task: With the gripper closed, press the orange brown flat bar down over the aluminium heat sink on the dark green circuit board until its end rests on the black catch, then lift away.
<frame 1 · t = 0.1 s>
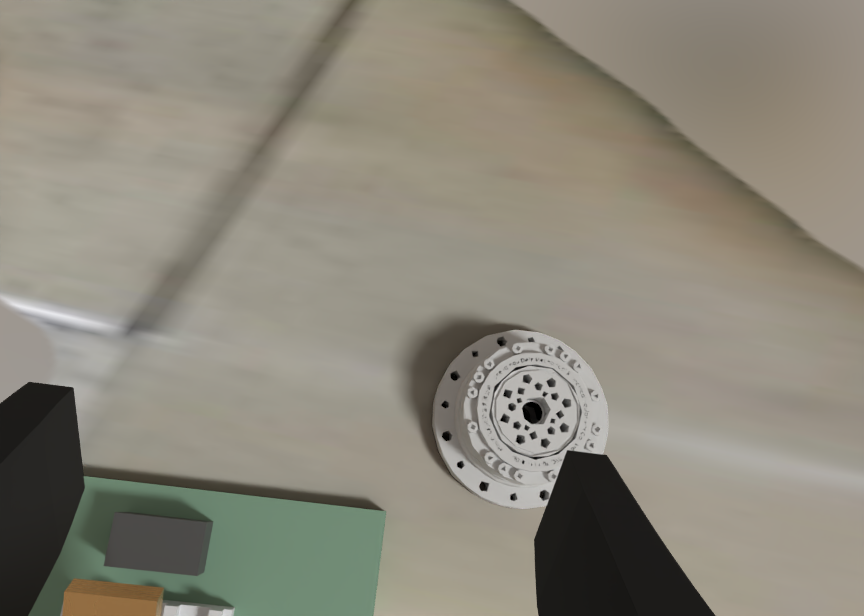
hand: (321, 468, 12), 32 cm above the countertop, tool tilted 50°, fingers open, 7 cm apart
mechanical component: (516, 419, 45), on the countertop
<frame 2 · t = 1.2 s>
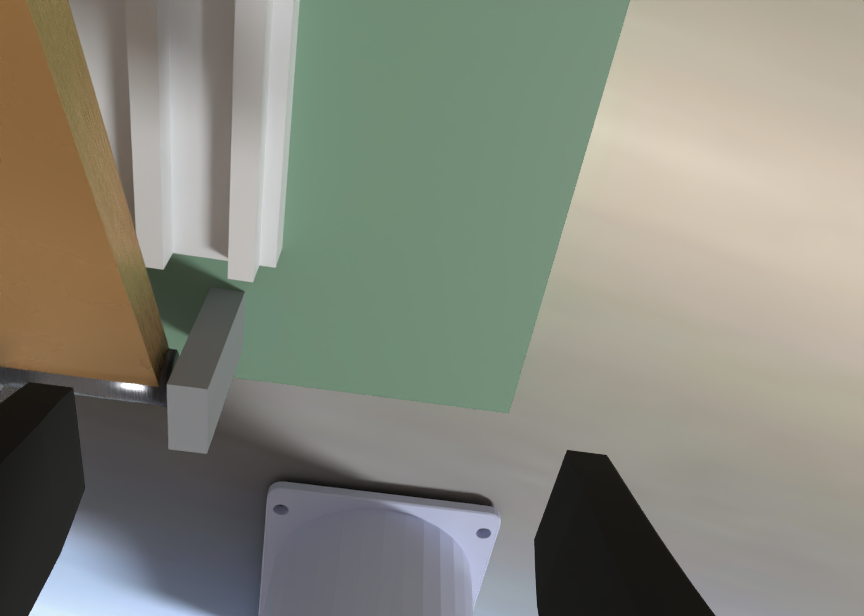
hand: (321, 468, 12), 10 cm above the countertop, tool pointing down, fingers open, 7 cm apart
orange brown flat bar: (14, 209, 14), point 6 cm above the countertop, hinge at 25.0°
board: (131, 32, 18), on the countertop
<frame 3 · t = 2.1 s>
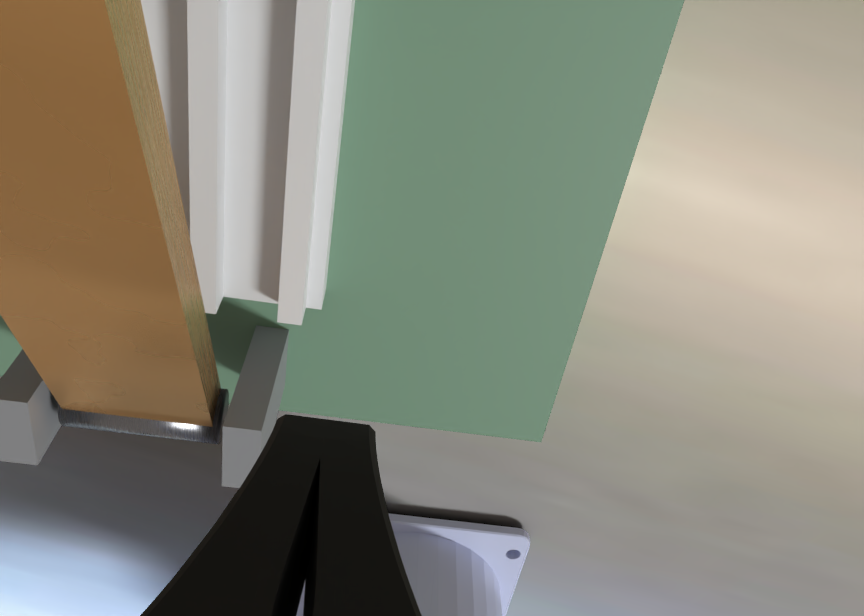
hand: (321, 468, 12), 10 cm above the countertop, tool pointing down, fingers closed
orange brown flat bar: (90, 273, 14), point 6 cm above the countertop, hinge at 25.0°
board: (183, 86, 19), on the countertop
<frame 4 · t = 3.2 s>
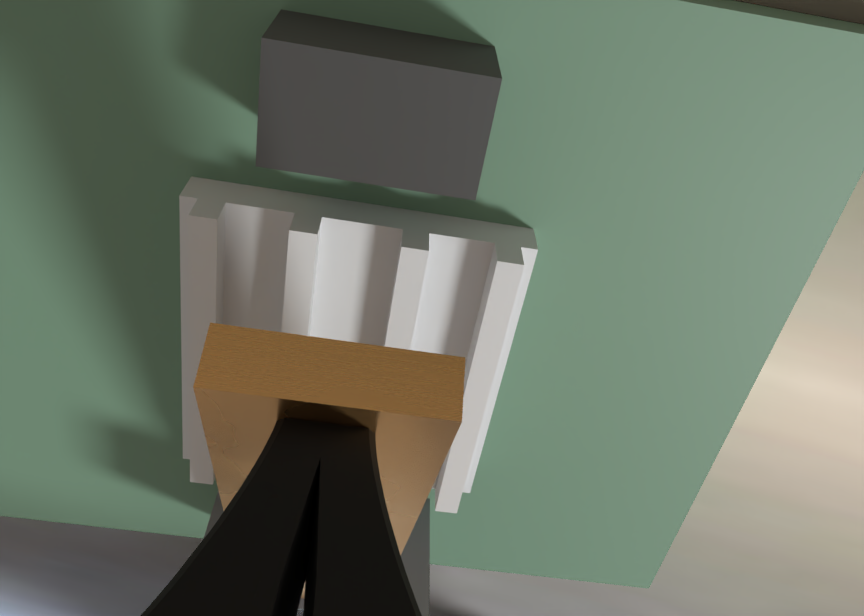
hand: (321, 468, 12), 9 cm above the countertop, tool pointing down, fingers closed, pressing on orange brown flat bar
orange brown flat bar: (319, 519, 16), point 6 cm above the countertop, hinge at 24.0°, touching gripper
board: (353, 299, 21), on the countertop
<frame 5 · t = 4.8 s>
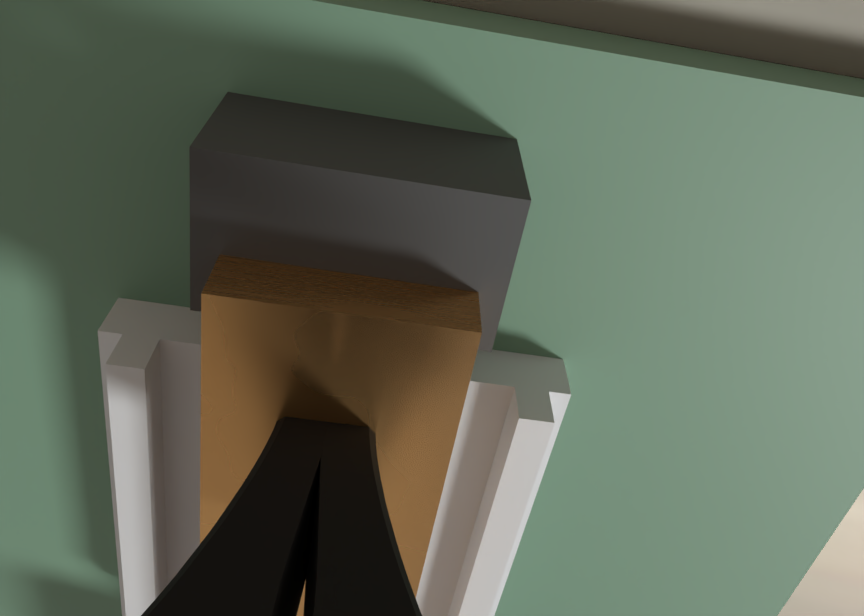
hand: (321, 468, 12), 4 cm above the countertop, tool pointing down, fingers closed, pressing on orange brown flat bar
orange brown flat bar: (306, 607, 14), point 4 cm above the countertop, hinge at -0.2°, touching board, gripper
board: (334, 427, 17), on the countertop
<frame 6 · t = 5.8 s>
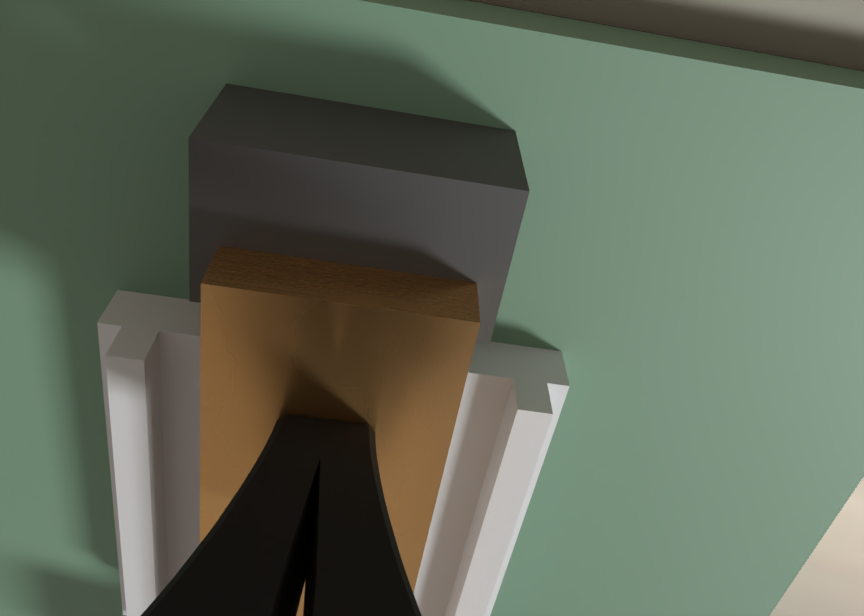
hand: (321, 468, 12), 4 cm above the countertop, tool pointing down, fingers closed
orange brown flat bar: (306, 598, 14), point 4 cm above the countertop, hinge at -0.3°, touching board
board: (333, 420, 17), on the countertop
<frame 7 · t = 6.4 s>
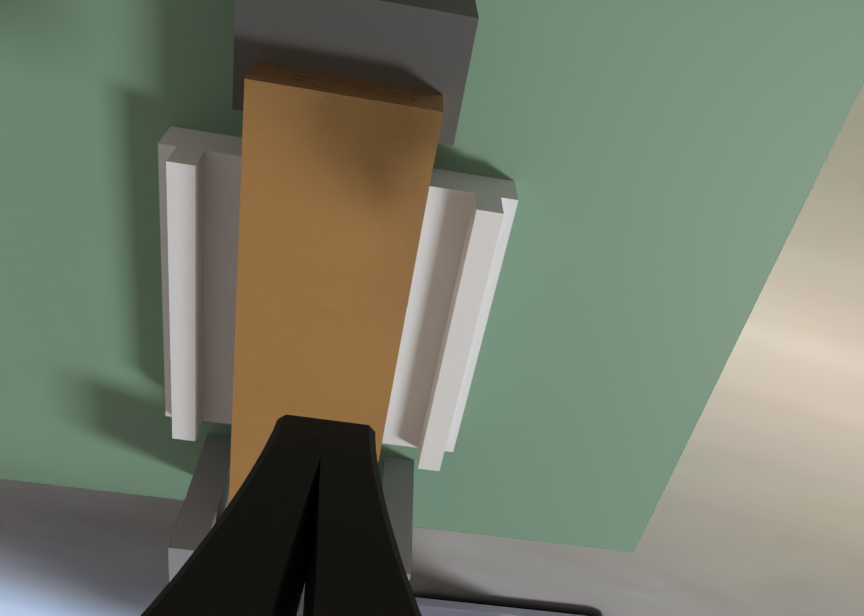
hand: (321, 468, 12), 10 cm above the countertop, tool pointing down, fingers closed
orange brown flat bar: (315, 371, 18), point 4 cm above the countertop, hinge at -0.3°, touching board
board: (336, 256, 21), on the countertop
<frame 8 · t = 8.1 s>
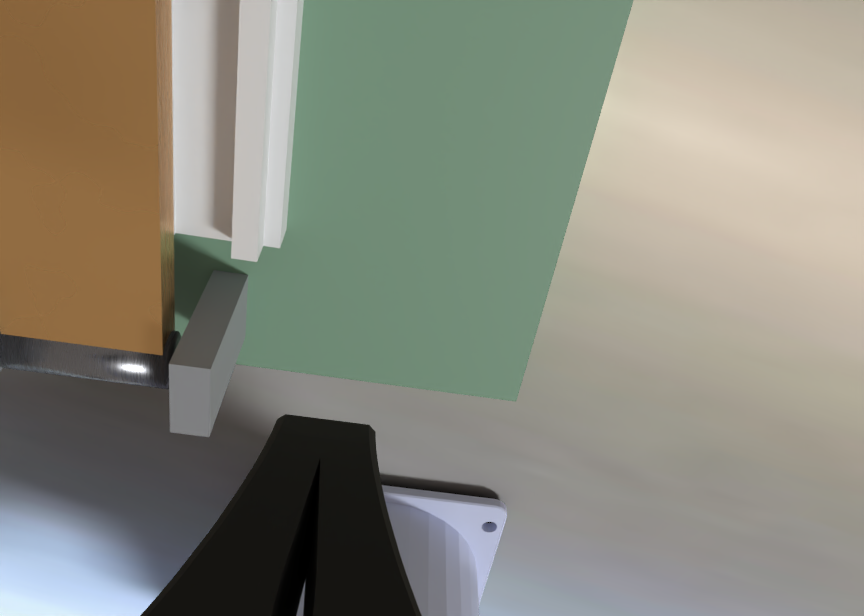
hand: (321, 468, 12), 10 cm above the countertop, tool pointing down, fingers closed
orange brown flat bar: (71, 95, 15), point 4 cm above the countertop, hinge at -0.3°, touching board
board: (134, 8, 18), on the countertop
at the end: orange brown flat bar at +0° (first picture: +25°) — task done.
